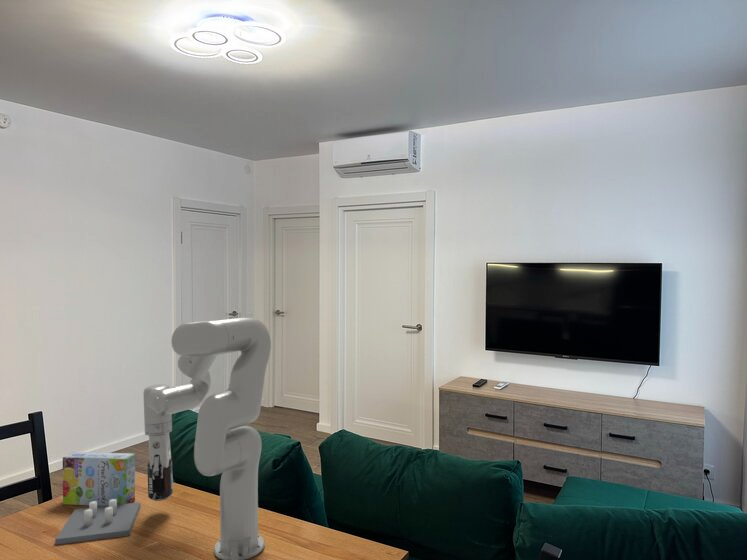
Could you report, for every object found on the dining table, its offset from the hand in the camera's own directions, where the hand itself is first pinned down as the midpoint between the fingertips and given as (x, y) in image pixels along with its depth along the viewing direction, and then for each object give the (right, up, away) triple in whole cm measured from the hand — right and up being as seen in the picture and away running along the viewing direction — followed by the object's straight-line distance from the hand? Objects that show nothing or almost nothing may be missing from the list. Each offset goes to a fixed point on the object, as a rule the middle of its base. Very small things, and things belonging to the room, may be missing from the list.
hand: (160, 486), depth 155 cm
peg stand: (-14, -8, -6) cm, 18 cm away
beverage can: (0, -3, 0) cm, 3 cm away
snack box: (-22, -8, +8) cm, 25 cm away
